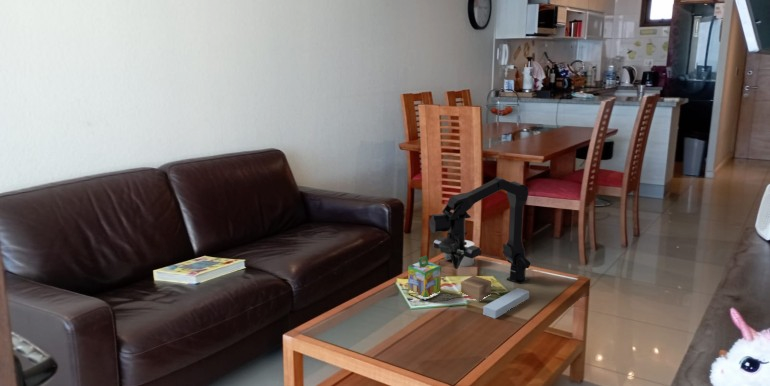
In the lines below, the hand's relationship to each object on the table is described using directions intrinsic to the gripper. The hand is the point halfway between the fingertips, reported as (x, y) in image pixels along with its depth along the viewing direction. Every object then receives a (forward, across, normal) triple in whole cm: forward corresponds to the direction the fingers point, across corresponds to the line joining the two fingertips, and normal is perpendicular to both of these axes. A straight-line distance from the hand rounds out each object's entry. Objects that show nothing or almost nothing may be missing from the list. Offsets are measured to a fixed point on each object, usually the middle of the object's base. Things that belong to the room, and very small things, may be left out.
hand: (456, 268), depth 240 cm
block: (+8, +9, 0) cm, 13 cm away
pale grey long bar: (+8, +23, 0) cm, 24 cm away
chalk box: (+9, -6, -12) cm, 16 cm away
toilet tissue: (+9, -16, +24) cm, 30 cm away
